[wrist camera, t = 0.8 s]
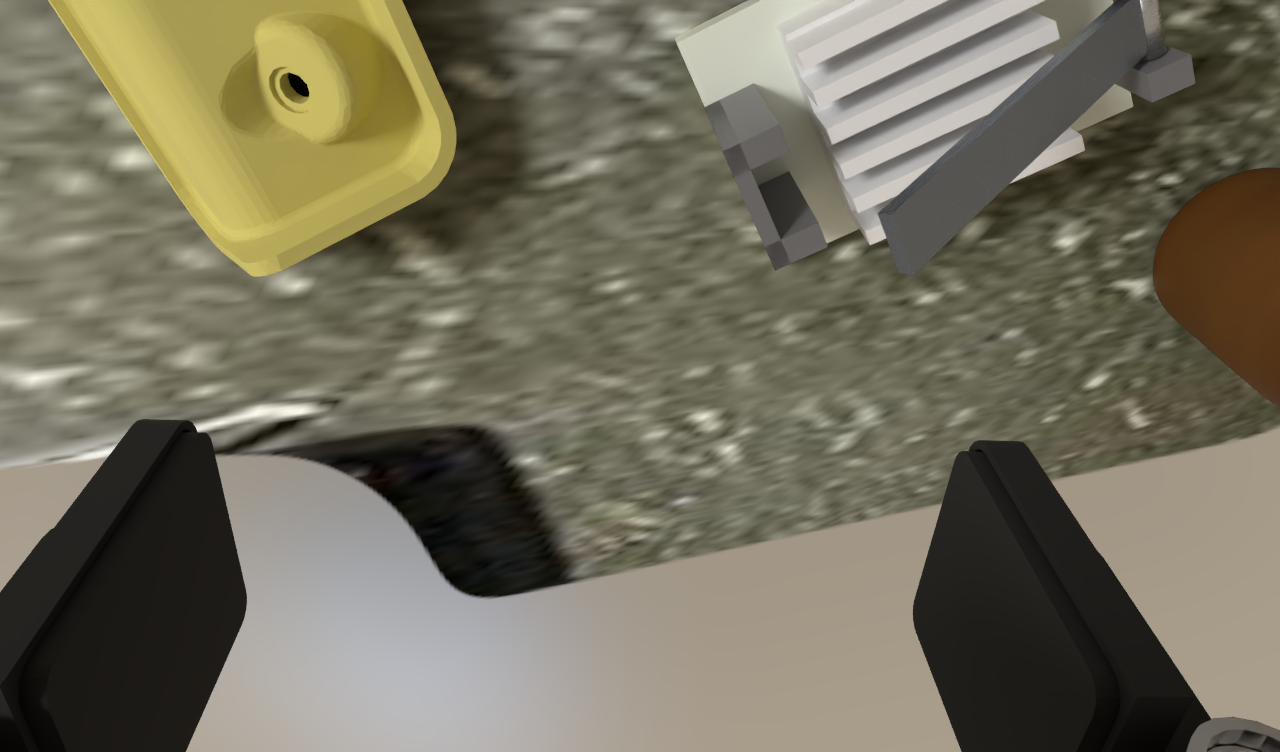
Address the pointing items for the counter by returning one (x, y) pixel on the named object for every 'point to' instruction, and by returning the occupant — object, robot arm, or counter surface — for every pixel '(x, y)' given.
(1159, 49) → the grey long flat bar
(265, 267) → the plastic component
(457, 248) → the counter surface
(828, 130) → the heatsink board
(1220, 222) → the mug
